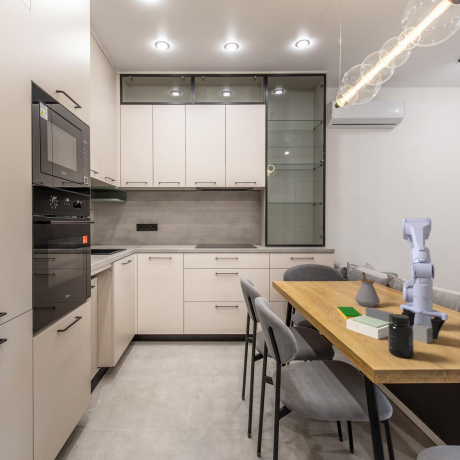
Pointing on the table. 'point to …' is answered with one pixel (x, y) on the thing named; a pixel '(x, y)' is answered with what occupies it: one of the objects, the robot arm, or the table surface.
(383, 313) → the trapdoor
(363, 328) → the trapdoor frame
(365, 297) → the coffee pot
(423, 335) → the grey block
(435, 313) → the robot arm
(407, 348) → the supplement bottle
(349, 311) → the dish sponge
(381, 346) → the table surface
